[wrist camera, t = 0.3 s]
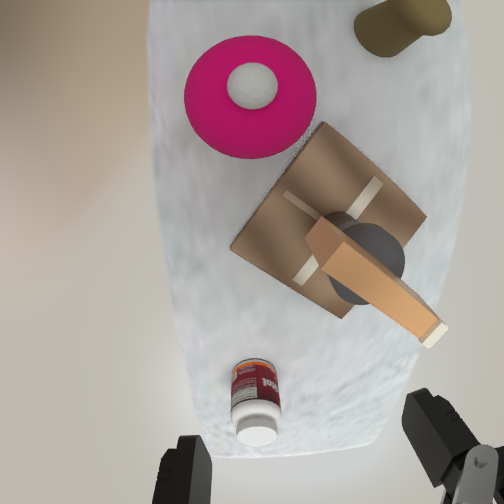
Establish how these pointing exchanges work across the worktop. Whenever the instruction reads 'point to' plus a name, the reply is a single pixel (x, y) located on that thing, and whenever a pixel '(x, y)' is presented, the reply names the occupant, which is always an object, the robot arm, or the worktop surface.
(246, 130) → the pepper mill
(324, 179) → the square stand base
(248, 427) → the pill bottle
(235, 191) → the worktop surface
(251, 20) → the worktop surface
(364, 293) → the tan long piece
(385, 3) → the cork
